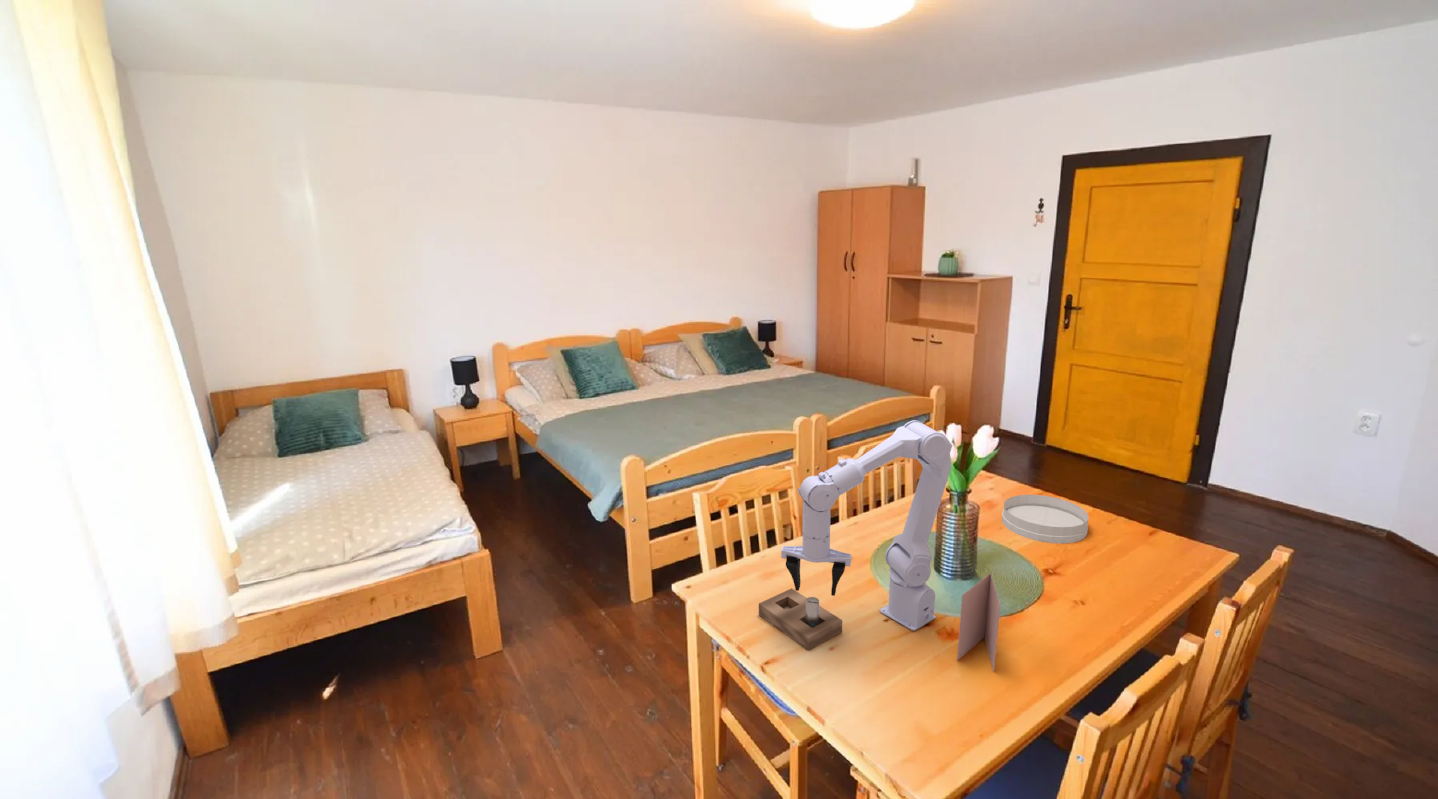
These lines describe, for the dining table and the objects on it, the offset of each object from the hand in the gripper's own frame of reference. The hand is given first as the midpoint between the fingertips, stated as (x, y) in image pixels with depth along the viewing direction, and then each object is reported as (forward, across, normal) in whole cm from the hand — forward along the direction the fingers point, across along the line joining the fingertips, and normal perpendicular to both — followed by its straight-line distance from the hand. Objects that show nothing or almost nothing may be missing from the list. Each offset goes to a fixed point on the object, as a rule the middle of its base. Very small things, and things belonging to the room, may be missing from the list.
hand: (815, 590), depth 137 cm
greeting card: (+10, -34, 0) cm, 36 cm away
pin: (+9, 0, +1) cm, 9 cm away
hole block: (+9, +4, -1) cm, 10 cm away
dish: (+10, -55, -66) cm, 86 cm away
